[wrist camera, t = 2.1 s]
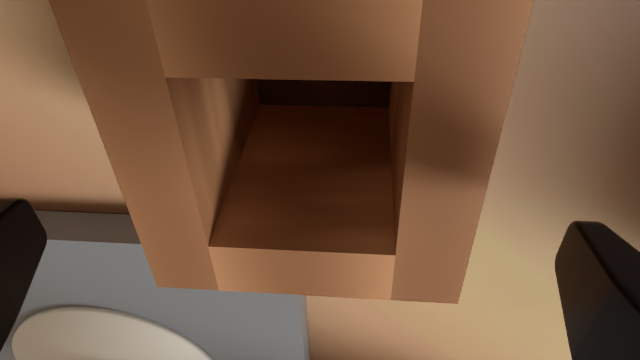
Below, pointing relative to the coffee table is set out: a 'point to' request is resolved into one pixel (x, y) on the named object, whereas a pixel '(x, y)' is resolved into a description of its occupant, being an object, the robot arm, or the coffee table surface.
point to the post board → (140, 305)
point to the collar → (300, 137)
